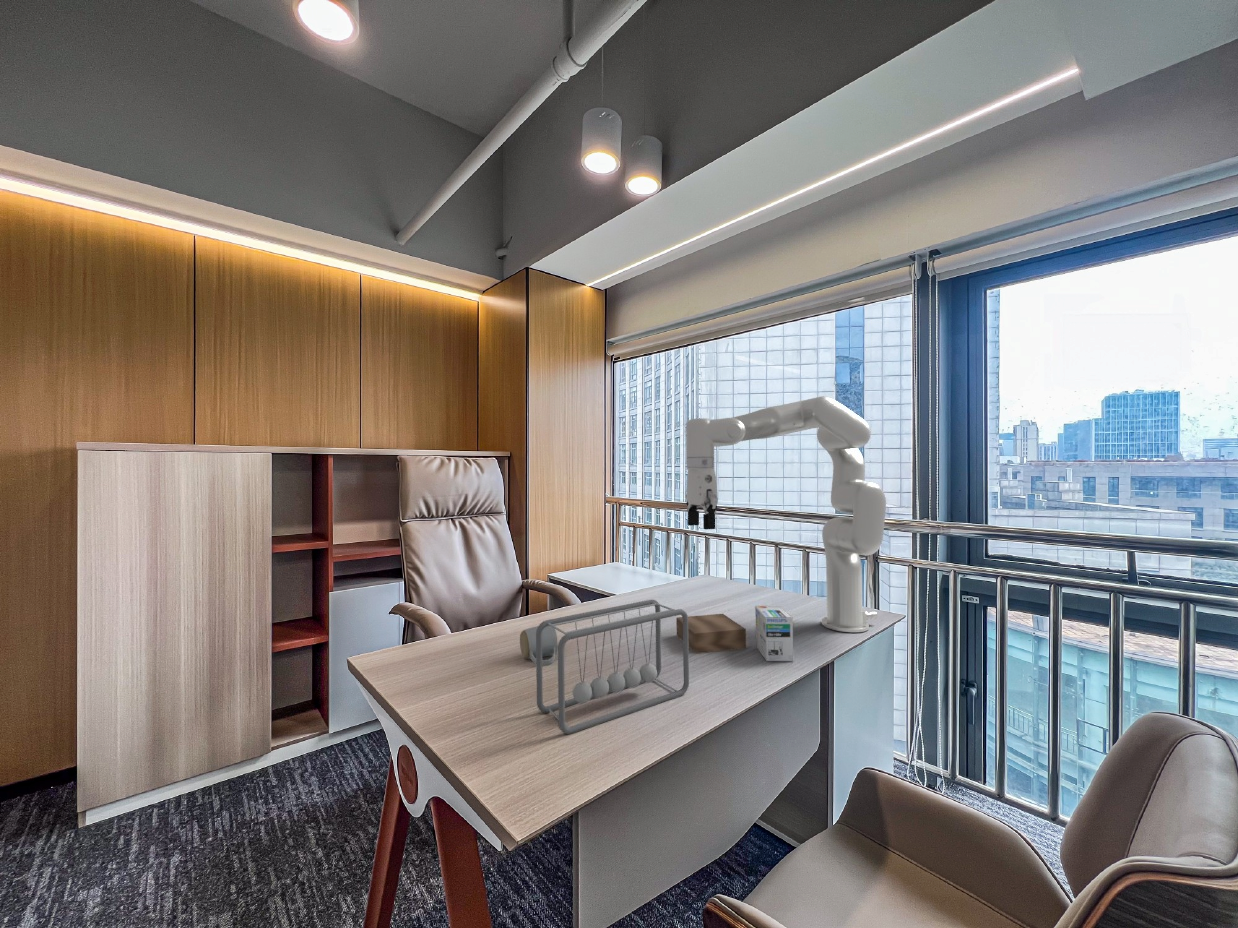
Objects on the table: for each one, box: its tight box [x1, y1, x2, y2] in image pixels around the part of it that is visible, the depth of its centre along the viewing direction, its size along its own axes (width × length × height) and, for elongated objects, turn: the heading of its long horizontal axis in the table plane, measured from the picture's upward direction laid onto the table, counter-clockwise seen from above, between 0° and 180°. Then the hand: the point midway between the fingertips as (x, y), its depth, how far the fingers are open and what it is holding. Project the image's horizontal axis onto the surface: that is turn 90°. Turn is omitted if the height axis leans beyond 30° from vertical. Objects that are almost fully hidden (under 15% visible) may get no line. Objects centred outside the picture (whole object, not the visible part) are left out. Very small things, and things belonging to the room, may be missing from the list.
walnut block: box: [675, 613, 747, 654], centre depth 133 cm, size 14×14×5 cm
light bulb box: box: [754, 605, 794, 662], centre depth 124 cm, size 11×7×11 cm, turn 179°
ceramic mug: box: [519, 625, 559, 667], centre depth 123 cm, size 11×8×8 cm
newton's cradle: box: [535, 599, 690, 735], centre depth 99 cm, size 30×10×18 cm, turn 123°
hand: (701, 527), depth 135 cm, fingers open, 9 cm apart
